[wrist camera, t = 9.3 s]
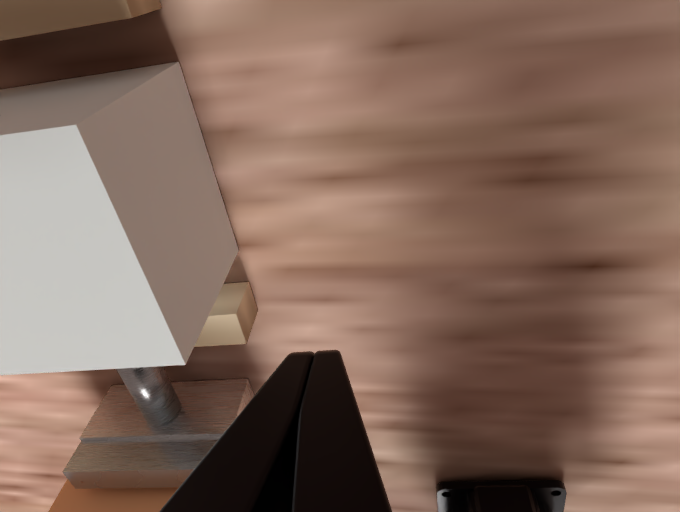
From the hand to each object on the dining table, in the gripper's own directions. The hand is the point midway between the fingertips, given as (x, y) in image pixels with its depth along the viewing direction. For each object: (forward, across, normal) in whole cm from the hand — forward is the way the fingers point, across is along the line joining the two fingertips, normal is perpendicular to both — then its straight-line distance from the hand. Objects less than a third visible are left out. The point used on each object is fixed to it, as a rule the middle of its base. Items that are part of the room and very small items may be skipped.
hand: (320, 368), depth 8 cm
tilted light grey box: (+10, +8, 0) cm, 13 cm away
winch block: (+10, +10, +12) cm, 18 cm away
